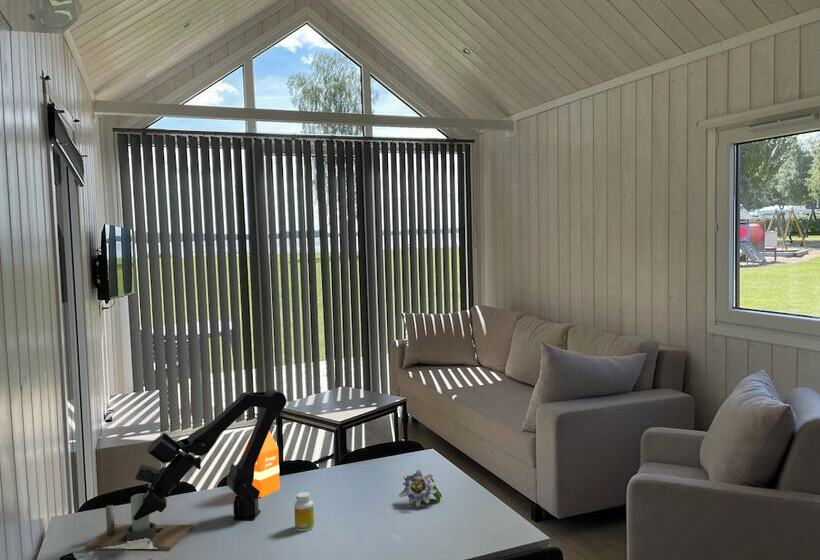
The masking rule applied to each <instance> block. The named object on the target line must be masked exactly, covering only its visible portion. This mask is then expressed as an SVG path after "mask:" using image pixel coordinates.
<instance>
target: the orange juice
mask: <svg viewBox="0 0 820 560" xmlns="http://www.w3.org/2000/svg"><path fill="white" fill-rule="evenodd" d="M248 442H249V440H248V441H247V443H246V445H245V447H244V449H243V451H242V452H243V453H242V455H243V454H244V451H245V449H246V446H247V444H248ZM279 457H280V456H279V446H278V445H277V442H276V441H275V439H274V437H273V435H272V433H271V431H270V430H269V433H268V435H267V437H266V440H265V442H264V445H263V447H262V449H261V452H260V454H259V457H258V459H257V462H256V464H255V467H254V479H253V483H252V485H253V486H255V487H256V488H257V489H258V490H259V491H260V493H259V497H263V496H265V495H267V496H269V495H268V494H270V493H272V492H274V491H276V490H278V489H280V490H281V488H280V487H281V485H280V481H281V480H280V463H279V462H280V461H279V460H280V459H279ZM278 491H279V490H278ZM276 492H277V491H276ZM274 493H275V492H274ZM272 494H273V493H272ZM270 495H271V494H270ZM265 497H266V496H265ZM263 498H264V497H263Z"/></svg>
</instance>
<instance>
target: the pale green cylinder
mask: <svg viewBox="0 0 820 560" xmlns="http://www.w3.org/2000/svg"><path fill="white" fill-rule="evenodd" d="M144 494H146V493H145V492H143V493H141V492H140V493H137V494H134V495H132V496H131V497H130V513H131V514H130V515H131V516H130V517H131V524H132V533H139V532H145V531H147V530H150V522H151V521H150V514H149V515H147V516H145V517H143V518H141V519H139V520H137V521H135V520H134V519H133V517H134V516H135V514H136V513H137V511H138V510H139V508H140V506H141V505H142V503H143V495H144Z"/></svg>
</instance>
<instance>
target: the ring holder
mask: <svg viewBox="0 0 820 560" xmlns="http://www.w3.org/2000/svg"><path fill="white" fill-rule="evenodd" d="M114 508H115V507H114V505H113V504H111V505H107V506H105V516H106V517H105V519H106V530H105V531H103V532H102V533H101V534H100V535H98V536H97V537H95V538H94V539H93V540H92V541H90V542H89V543H87V544H86V546H85V549H86V550H97V549H96V548H103V547H108V546H116V545H121V544H124V543H127V541H134V540H139V539H144V538H148V539H150V541H151V542H152V543H153V546H154V547H156V548H158V549H160V550H159V551H172V549H173V548H174V547H175V546H176V545H177V544H178V543H180V542H181V540H183V539H184V537H186V536H187V535H188V534H189V533H190V532H191V531H192V530H193V529H194V525H193V524H156V523H155V522H152V521H150V530H147V531H145V532H139V533H132V523H131V524H130V523H129V524H128V523H127V524H126V523H119V524H117V523H115V510H114ZM157 532H158V533H157ZM125 540H126V541H125Z"/></svg>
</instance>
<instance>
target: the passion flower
mask: <svg viewBox="0 0 820 560" xmlns="http://www.w3.org/2000/svg"><path fill="white" fill-rule="evenodd" d="M433 476H434V475H433V474H432V473H431V474H427V475H425V476H424V475H423V473H422V470H421V469H417V470H416V472H415V473H414V474H412V475H408V474H407V475H406V476H403V479H404V480H405V481H404V482H402V485H404V488H403V491H401V492H400V493H399V497H402V498H403V497H406V496H407V497H408V503H409V505H413V504H414V505H415V507H416V508H420V505H421V503H422V501H423V502H424V503H425V504H426V505H427V504H429V503H430V495H431V494H432V496H434V498H435V499H436V501H437V502H438V503H440V502H441V498H442V497H443V496H442V493H441V492H440V491H439V489H438V487H437V486H436V485H437V482H435V480H434V479H433Z"/></svg>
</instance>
